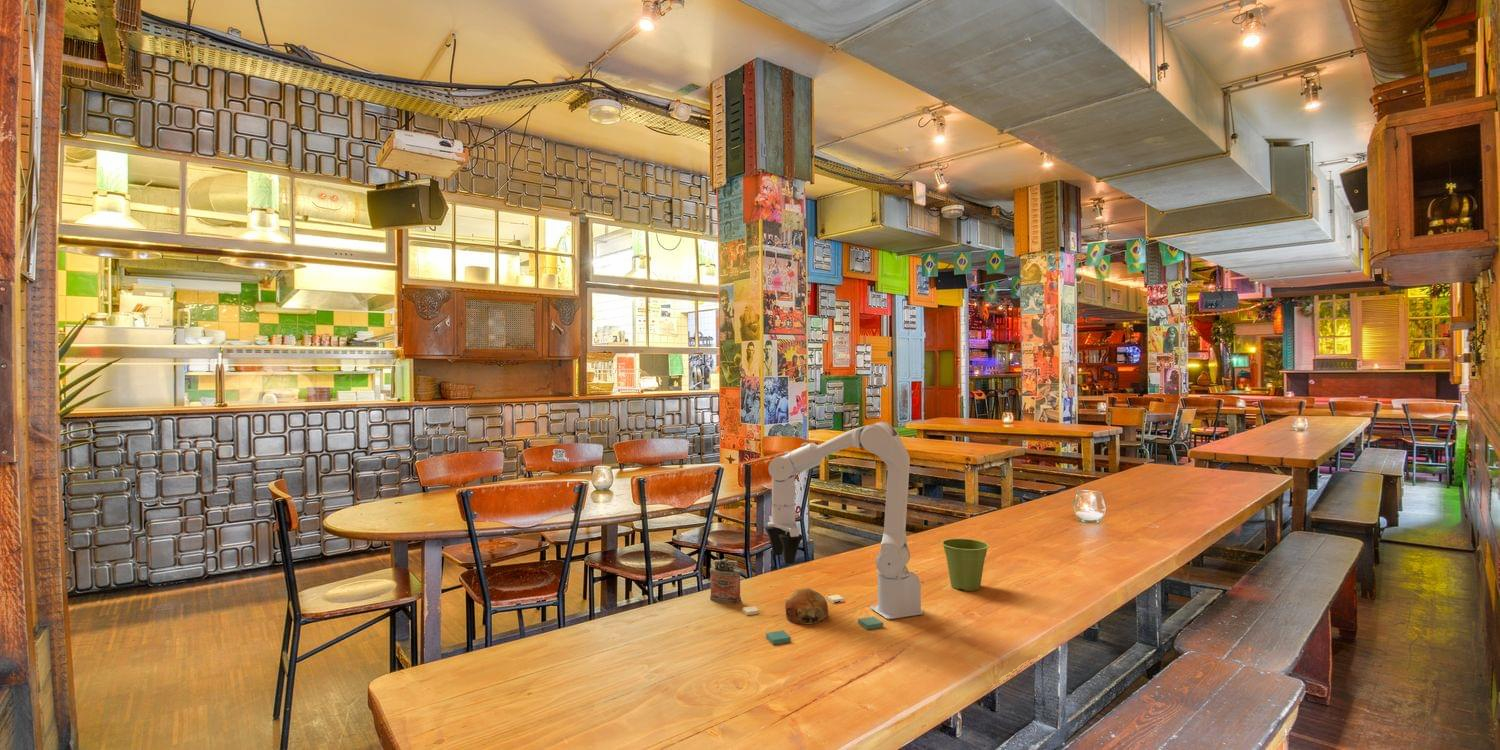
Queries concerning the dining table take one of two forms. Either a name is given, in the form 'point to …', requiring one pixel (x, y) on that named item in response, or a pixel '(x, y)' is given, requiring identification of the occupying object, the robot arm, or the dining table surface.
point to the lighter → (725, 582)
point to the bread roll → (806, 606)
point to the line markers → (783, 637)
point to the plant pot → (965, 562)
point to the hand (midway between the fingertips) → (783, 558)
